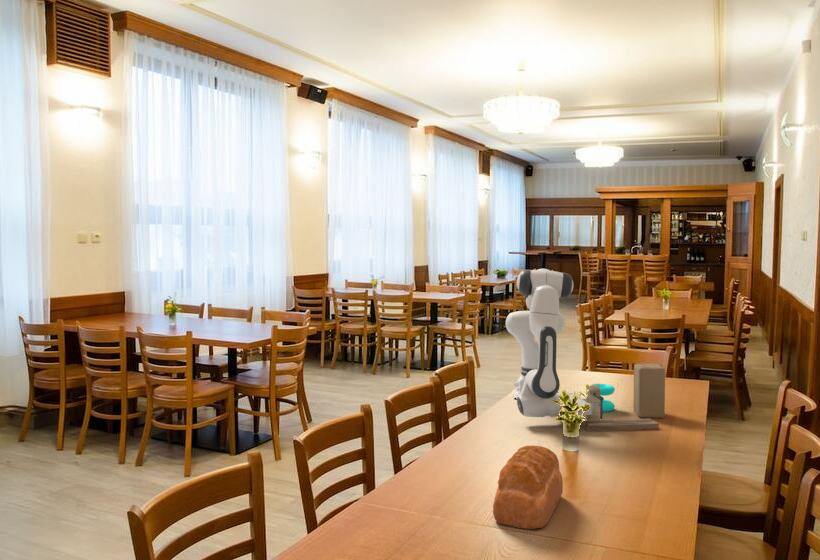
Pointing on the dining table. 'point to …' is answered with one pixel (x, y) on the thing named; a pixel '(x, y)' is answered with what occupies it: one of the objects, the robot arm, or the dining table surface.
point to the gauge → (594, 398)
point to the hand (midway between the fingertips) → (595, 403)
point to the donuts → (604, 391)
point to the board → (621, 425)
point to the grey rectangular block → (649, 390)
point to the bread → (528, 488)
